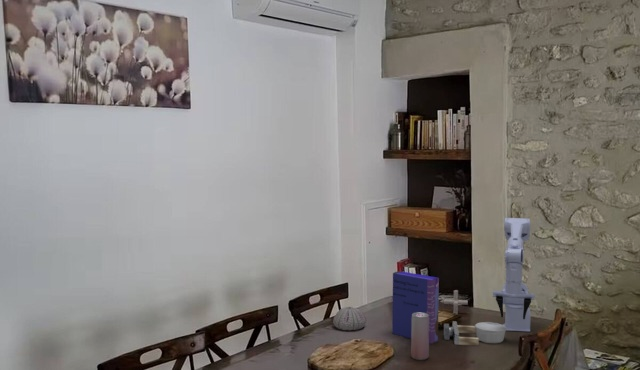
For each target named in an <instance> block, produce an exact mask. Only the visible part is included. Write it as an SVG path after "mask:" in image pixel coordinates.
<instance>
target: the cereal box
mask: <svg viewBox="0 0 640 370" xmlns="http://www.w3.org/2000/svg"><path fill="white" fill-rule="evenodd" d="M439 282H440V278H439V277H435V276H429V275H424V274H419V273H412V272H406V271H403V270H402V271H399V270H398V271H395V272H393V273H392V318H391V319H392V325H391V327H392V329H391V331H392V332H391V333H392V335H394V336H399V337H402V338H407V339H410V340H411V317H412V314H413V313H417V312H421V313H426V314H428V315H429V345H432V344H434V343H436V342H437V343H438V341H439V297H440V296H439V291H440V290H439V289H440V287H439V285H440V284H439Z"/></svg>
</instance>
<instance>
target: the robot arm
mask: <svg viewBox="0 0 640 370" xmlns="http://www.w3.org/2000/svg"><path fill="white" fill-rule="evenodd" d="M503 225H504V227H503V229H504V237H505V239H506V240H507V245H506V249H505V251H504V263H505V283H504V284H503V286H502V290H493V292H492V297H493V298H495V301H496V303H497V306H498V308H499V311H500V318H504V319H505V320H504V323H502V325H504V326H505V327H506V331H508V332H509V331H510V332H511V331H512V332H531V318H532V317H531V309H530V305H531V303H532V301H535V293H529V288H528V286H527V285H526V283H524V282H523V265H524V261H525V260H524V259H525V250H524V244H525V242H527V241H529V238H530V233H531V219H530V218H528V217H527V218H522V217H521V218H519V217H505V218H504V224H503ZM504 307H505V310H504ZM504 311H505V313H504Z"/></svg>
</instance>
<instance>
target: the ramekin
mask: <svg viewBox="0 0 640 370" xmlns="http://www.w3.org/2000/svg"><path fill="white" fill-rule="evenodd" d="M474 326H475V334H476V338H479V341H480V342H483V343H486V344H500V343H502V342H504V339H505V334H506V332H507V330H506V327H505V326H504V325H503V324H501V323H498V322H491V321H485V322H477V323H476V324H475V325H474Z"/></svg>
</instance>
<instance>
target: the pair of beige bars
mask: <svg viewBox="0 0 640 370" xmlns="http://www.w3.org/2000/svg"><path fill="white" fill-rule="evenodd" d="M457 326H458V331H459V334H473V335H474V334H476V328H475V325H461V324H459V325H458V324H457ZM479 341H480V340H479V338H477V337H474V336H473V337H471V336H469V337H467V336H459V345H458V346H474V347H476V346H477V347H478V346H479V345H480V343H479ZM479 347H480V346H479Z"/></svg>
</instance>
